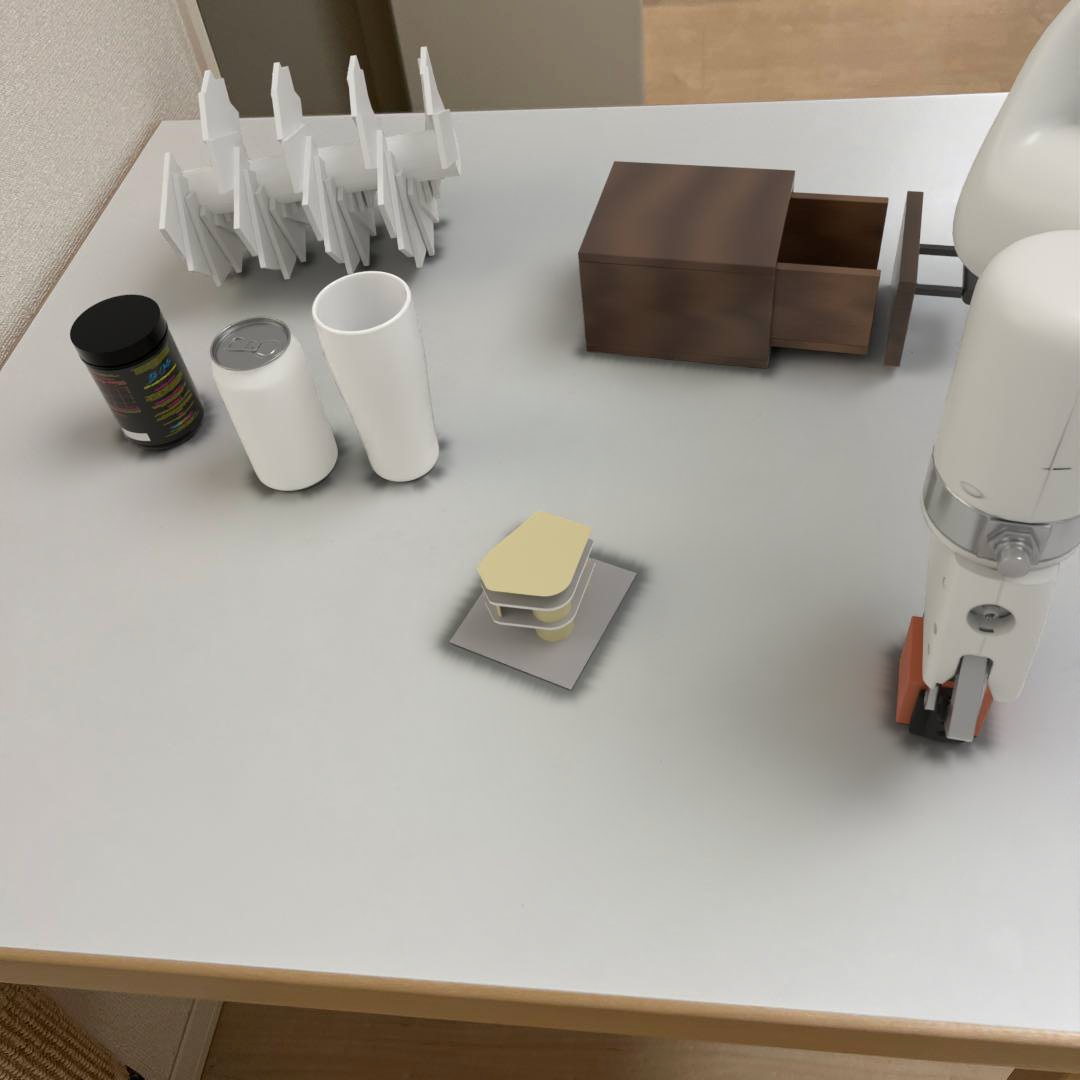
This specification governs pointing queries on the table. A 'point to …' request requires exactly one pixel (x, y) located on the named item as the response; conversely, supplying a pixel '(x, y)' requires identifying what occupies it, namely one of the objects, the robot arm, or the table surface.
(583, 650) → the stacked layers on plate
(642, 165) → the cabinet
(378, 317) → the drinking glass
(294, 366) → the can
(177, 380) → the supplement container
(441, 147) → the spiral staircase
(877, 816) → the table surface
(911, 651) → the block
